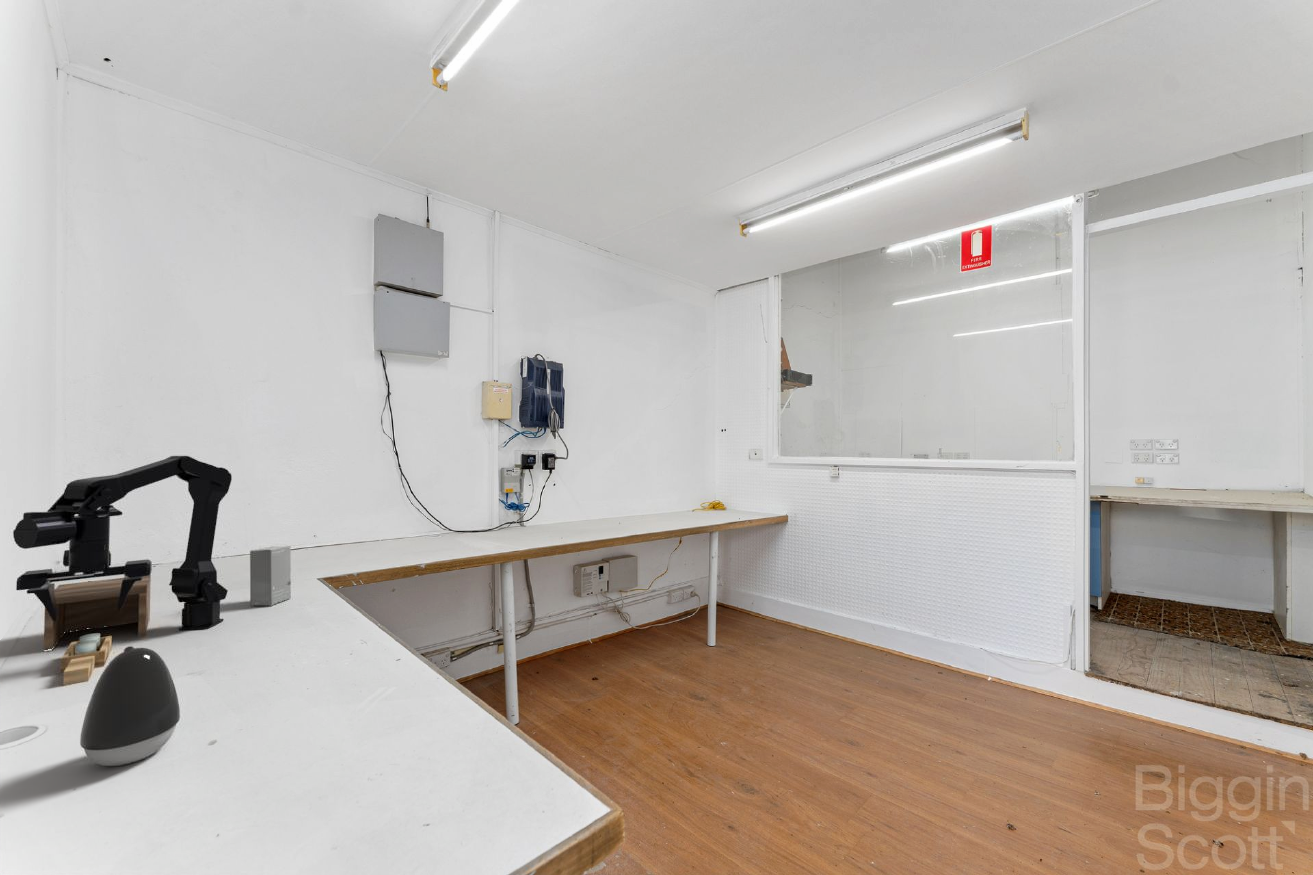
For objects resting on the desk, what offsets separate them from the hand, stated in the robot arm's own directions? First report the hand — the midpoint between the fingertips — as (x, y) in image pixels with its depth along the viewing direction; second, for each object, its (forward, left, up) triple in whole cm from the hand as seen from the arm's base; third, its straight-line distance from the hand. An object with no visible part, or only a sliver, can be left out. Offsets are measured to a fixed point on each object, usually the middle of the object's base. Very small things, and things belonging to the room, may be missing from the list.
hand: (88, 615), depth 110 cm
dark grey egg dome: (-35, +41, -10) cm, 55 cm away
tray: (-1, +2, -10) cm, 10 cm away
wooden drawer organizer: (+12, -20, -10) cm, 25 cm away
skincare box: (-14, -42, -10) cm, 46 cm away
